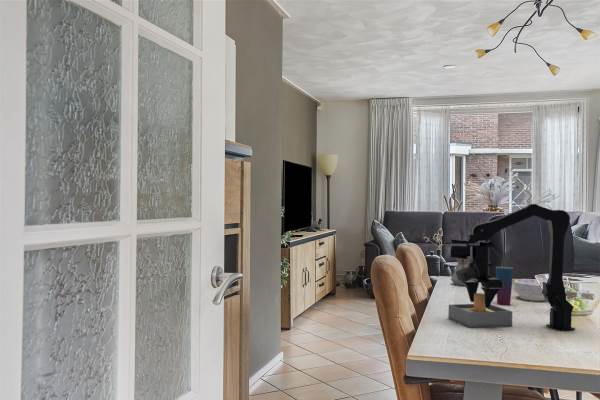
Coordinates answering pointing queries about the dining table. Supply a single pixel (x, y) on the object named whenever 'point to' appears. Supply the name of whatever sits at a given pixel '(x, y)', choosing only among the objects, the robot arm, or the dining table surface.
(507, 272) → the cup
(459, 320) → the socket tray
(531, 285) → the paper bowls
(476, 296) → the peg
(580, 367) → the dining table surface
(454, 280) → the grey tied sack
